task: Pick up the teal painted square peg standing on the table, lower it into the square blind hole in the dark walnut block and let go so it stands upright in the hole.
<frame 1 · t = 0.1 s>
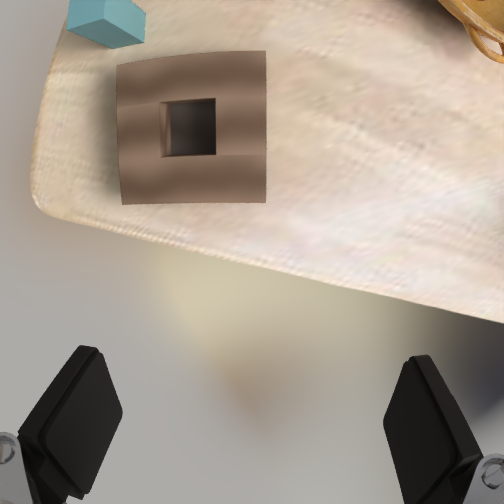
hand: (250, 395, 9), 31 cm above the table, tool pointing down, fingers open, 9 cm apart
bore block: (197, 127, 36), on the table
peg: (128, 30, 31), on the table
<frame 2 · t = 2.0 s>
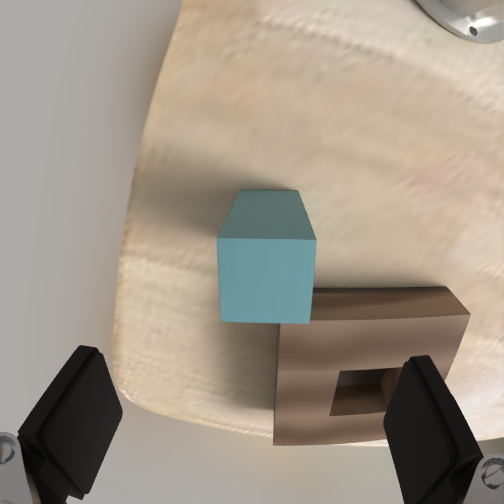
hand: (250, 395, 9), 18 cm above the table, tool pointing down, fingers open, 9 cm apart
bore block: (356, 358, 30), on the table
peg: (269, 218, 25), on the table
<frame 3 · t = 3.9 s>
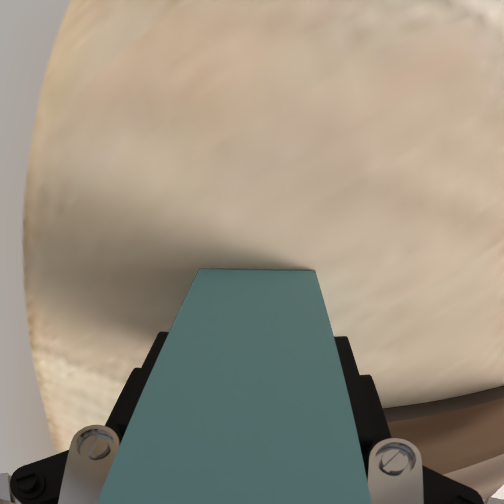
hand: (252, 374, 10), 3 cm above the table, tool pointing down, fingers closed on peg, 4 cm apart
bore block: (381, 474, 18), on the table
peg: (256, 319, 13), on the table, touching gripper
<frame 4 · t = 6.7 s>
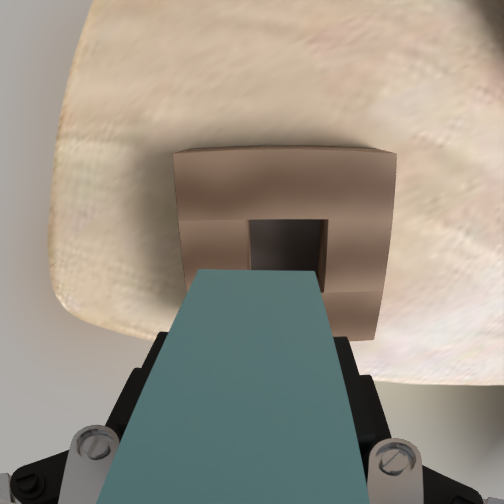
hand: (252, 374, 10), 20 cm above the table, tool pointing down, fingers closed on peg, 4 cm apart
bore block: (284, 236, 29), on the table
peg: (256, 319, 13), point 16 cm above the table, touching gripper
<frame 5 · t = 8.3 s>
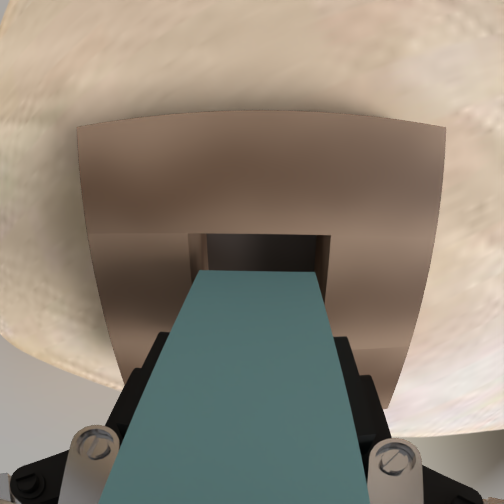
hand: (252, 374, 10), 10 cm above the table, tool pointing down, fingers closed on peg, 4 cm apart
bore block: (261, 256, 19), on the table
peg: (256, 320, 13), point 7 cm above the table, touching gripper
when the fingers open (6 cm above the table, at t = 9.4 s): peg drops 2 cm, resting on bore block.
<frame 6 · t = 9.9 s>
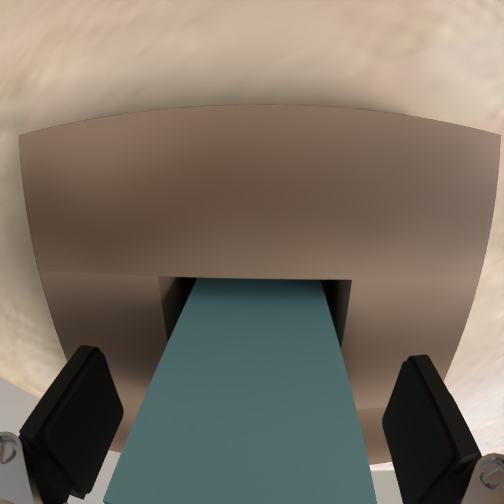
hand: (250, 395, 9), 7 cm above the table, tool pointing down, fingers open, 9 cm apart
bore block: (258, 289, 15), on the table
peg: (260, 300, 15), point 1 cm above the table, touching bore block
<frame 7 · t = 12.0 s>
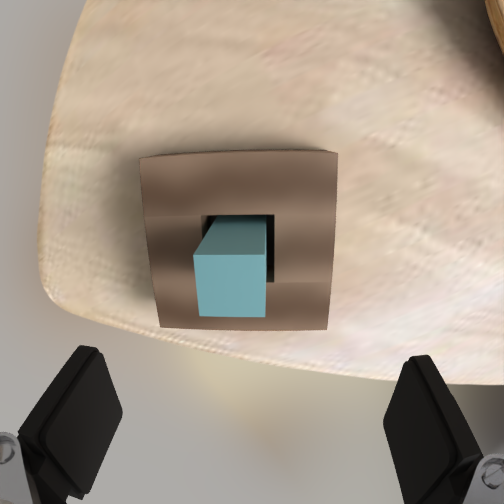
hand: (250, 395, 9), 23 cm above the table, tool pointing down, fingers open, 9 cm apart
bore block: (243, 232, 32), on the table
peg: (243, 235, 31), point 1 cm above the table, touching bore block
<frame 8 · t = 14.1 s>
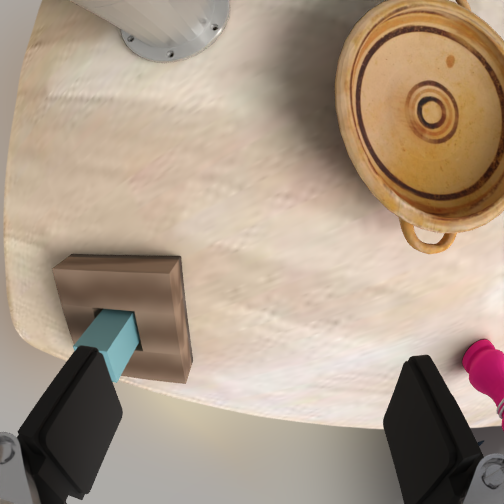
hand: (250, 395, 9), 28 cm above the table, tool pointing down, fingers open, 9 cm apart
bore block: (131, 309, 42), on the table
pepper mill: (476, 353, 42), on the table
peg: (129, 313, 41), point 1 cm above the table, touching bore block
ceramic bowl: (421, 112, 31), on the table
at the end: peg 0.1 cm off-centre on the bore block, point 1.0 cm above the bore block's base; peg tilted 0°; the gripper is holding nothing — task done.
